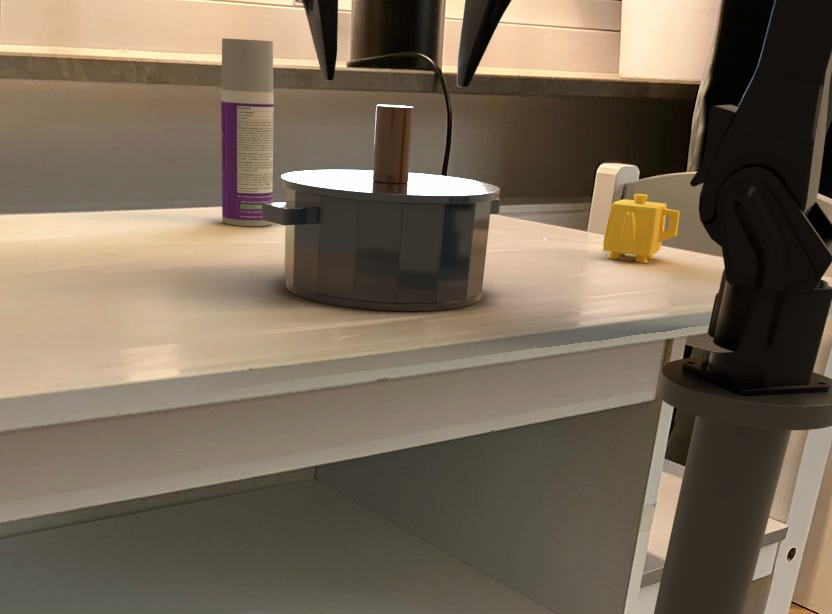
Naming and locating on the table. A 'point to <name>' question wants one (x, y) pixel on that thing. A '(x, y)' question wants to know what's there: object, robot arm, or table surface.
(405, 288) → the pot
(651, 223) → the teapot
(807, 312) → the robot arm
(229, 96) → the container
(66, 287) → the table surface
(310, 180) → the lid
